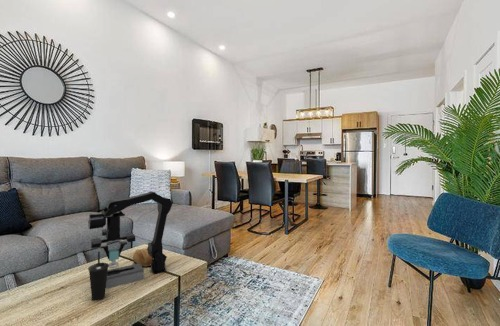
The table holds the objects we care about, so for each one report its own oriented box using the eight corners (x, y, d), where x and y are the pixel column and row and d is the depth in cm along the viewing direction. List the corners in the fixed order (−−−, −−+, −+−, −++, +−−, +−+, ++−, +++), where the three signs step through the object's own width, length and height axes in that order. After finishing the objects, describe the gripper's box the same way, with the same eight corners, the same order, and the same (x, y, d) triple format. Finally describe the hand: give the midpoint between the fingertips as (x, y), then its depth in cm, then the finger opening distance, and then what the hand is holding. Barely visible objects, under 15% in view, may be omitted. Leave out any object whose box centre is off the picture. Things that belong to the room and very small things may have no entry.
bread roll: (140, 270, 136) (140, 255, 136) (128, 262, 147) (129, 248, 146) (156, 265, 143) (157, 251, 143) (145, 257, 154) (145, 244, 154)
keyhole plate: (139, 272, 134) (139, 263, 134) (143, 279, 126) (143, 269, 126) (100, 281, 123) (100, 271, 123) (102, 289, 116) (102, 278, 116)
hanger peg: (117, 263, 125) (117, 248, 125) (119, 266, 122) (119, 251, 122) (107, 265, 123) (107, 250, 123) (108, 268, 119) (108, 252, 119)
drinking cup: (93, 304, 104) (94, 256, 104) (84, 298, 108) (84, 252, 108) (112, 296, 111) (112, 251, 110) (102, 291, 115) (103, 247, 114)
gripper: (131, 219, 134) (131, 249, 134) (89, 224, 123) (89, 256, 123) (135, 224, 125) (135, 255, 125) (91, 230, 114) (91, 264, 114)
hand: (113, 257), depth 122 cm, fingers closed on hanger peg, 4 cm apart
